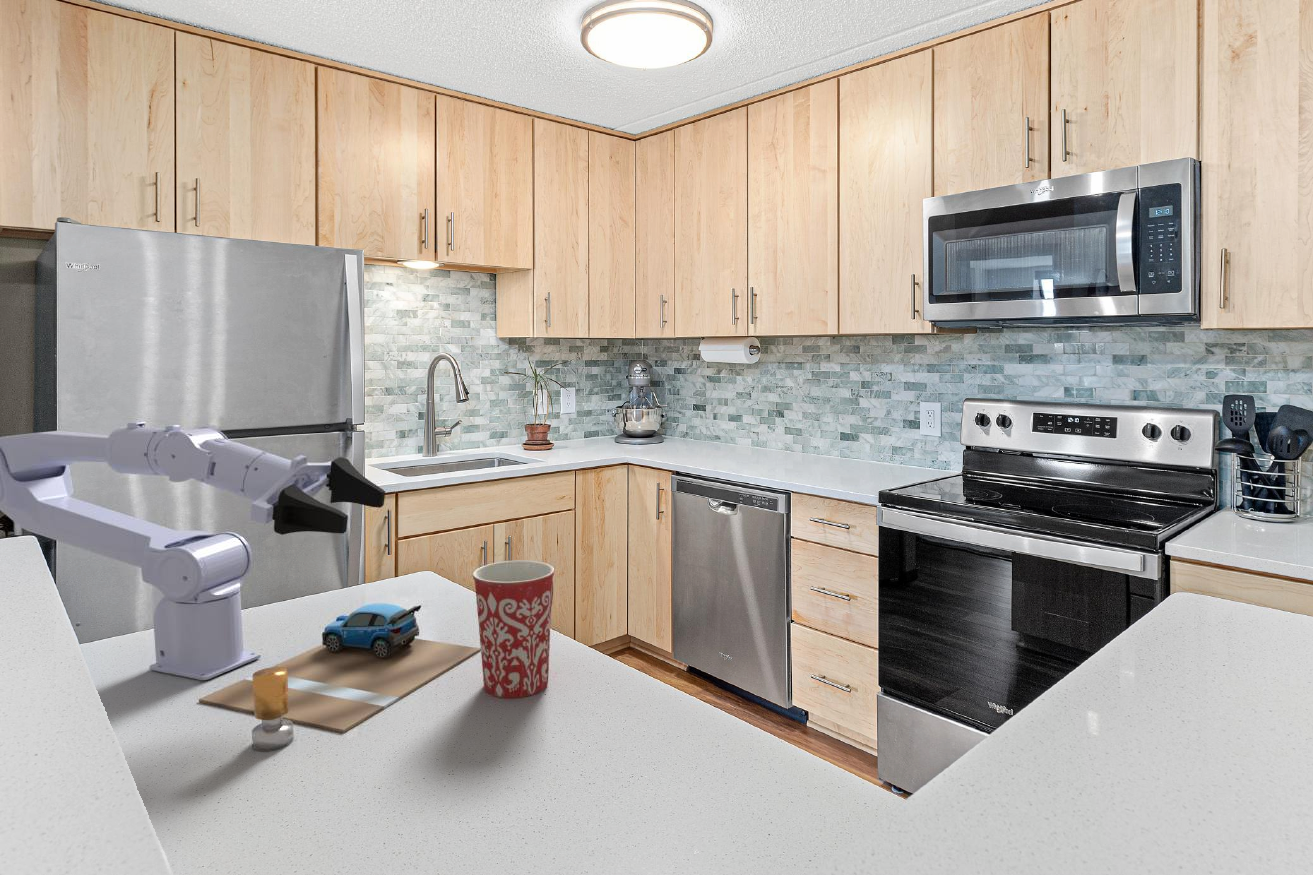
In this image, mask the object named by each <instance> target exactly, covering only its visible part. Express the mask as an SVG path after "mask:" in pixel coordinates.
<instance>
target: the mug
mask: <svg viewBox="0 0 1313 875" xmlns="http://www.w3.org/2000/svg"><path fill="white" fill-rule="evenodd" d="M555 572H556V569H555V568H554V566H553V565H552V564H549V563H546V562H542V561H534V560H506V561H505V560H504V561H497V562H492V563H488V564H485V565H483V566H481V567H478V568H477V569H475V570H474V571H473V573H472V578H473V582H474V587H475V588H474V589H475V597H476V602H475V603H476V611H477V612H476V613H477V622H478V631H479V632H478V633H479V644H480V645H479V646H480V648H481V651H480V654H481V655H480V656H481V667H482V668H481V669H482V679H483V680H482V681H483V686H484V690H485V692H487V693H488V694H489V695H491V696H493V697H498V698H501V699H502V698H504V699H517V698H518V699H520V698H526V697H529V696H533V695H535V694H538V693H540V692H542V691H543V690H545V688H546V687H547V685H548V683H549V674H550V673H549V671H550V670H549V669H550V668H549V667H550V666H549V665H550V648H551V646H550V645H551V644H550V641H551V624H552V623H551V621H552V618H551V617H552V608H553V607H552V606H553V599H554V598H553V597H554V583H553V582H554V581H553V580H554V578H553V577H554V575H555Z"/></svg>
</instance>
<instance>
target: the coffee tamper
mask: <svg viewBox="0 0 1313 875" xmlns="http://www.w3.org/2000/svg"><path fill="white" fill-rule="evenodd" d="M251 676H252V677H253V695H254V718H255V719H256V720H261V723H259V724H257V725H255V726H254V727H253V728H252V730H251V739H252V740H251V741H252V749H254V750H255V751H258V752H266V753H267V752H274V751H278V750H281V749H284V748H286V747H288V746H289V745H291V744H292V743H293V742H294V738H295V737H294V722H292V721H290V720H286V719H283V718H282V716H283V715H285V714H287V713H288V711H289V700H288V680H287V669H286V668H283V667H273V666H270V667H267V668H262V669H260V670H257V671H255V672H254V673H253V674H252V675H251Z"/></svg>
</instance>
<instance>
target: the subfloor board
mask: <svg viewBox="0 0 1313 875" xmlns="http://www.w3.org/2000/svg"><path fill="white" fill-rule="evenodd" d="M336 646H337V645H336ZM392 652H393V653H392V655H390V656H389V657H388V658H386V659H380V658H378V657H377V656H376V655H375V654H374V652H373V650H371V651H370V650H362V649H354V648H345V647H344V649H342V650H341V651H339V652H338V653H333V652H331V651H329V650H328V648H327V647H326V645H323V644H320V645H318V646H316V647H314V648H311V649H310V650H307V651H305V652H302V653H300V654H297V655H296V656H294V657H291V658H289V659H287V660H285V661H282V662H280V663H278V664H277V663H276V665H275V664H274V665H273V666H272V667H283V668H286V669H287V680H288V700H289V711H288V713H287V714H285V715H283V716H282V718H283V719H286V720H290V721H292V722H293V723H297V724H299V725H300V724H301V725H305V726H310V727H314V728H319V729H324V730H329V731H333V732H339V733H343V734H344V733H346V732H348V731H350V730H351V729H353V728H354V727H356V726H358V725H361V723H363V722H364V721H366V720H368V719H370V718H371V717H373V716H374V715H376V714H378V713H379V712H382V711H383V710H385V709H386V708H388V707H390V706H391V705H393V704H394V703H396V702H398V701H399V700H401V699H403V698H405V697H406V696H407V695H409V694H411V693H413V692H414V691H416V690H418V689H419V688H421V687H422V686H425V685H426V684H427V683H430V682H431V681H433V680H435V679H436V678H438V677H440V676H441V675H443V674H445V673H446V672H448V671H450V670H451V669H453V668H454V667H456V666H458V665H459V664H461V663H462V662H465V661H466V660H468V659H469V658H471V657H472V656H474V655H476V654H478V653H480V652H481V647H474V646H473V647H472V646H468V645H460V644H453V643H448V642H441V641H433V640H428V639H421V638H416V637H415V639H414V641H413V642H412V643H410V644H409V645H406V646H404V645H400V646H398V647H396V648H394V649H393V651H392ZM198 702H199V703H203V704H208V705H211V706H216V707H221V708H227V709H232V710H235V711H240V712H245V713H250V714H254V695H253V677H252V675H251V676H248V677H246V678H243V679H242V680H239V681H237V682H234V683H233V684H231V685H228V686H225V687H223V688H221V689H219V690H216V691H214V692H211V693H210V694H207V695H205V696H203V697H200V698H199V699H198ZM254 715H255V714H254Z"/></svg>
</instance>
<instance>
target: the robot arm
mask: <svg viewBox="0 0 1313 875" xmlns="http://www.w3.org/2000/svg"><path fill="white" fill-rule="evenodd" d="M146 423H147V422H145V421H130V422H127V425H126V426H121V427H118V428H116V429H114V430H113V431H112V432H111V433H110V434H109V435H108V434H97V433H89V432H88V433H87V432H77V431H66V430H53V431H43V432H31V433H25V434H24V433H23V434H16V435H7V436H0V511H1V512H2V513H3V514H4V515H5V516H6V517H8V519H10V520H12V521H13V522H14V523H15V524H17V526H19V527H20V528H21V529H23V530H24V531H27V532H30V533H33V534H36V535H39V536H42V537H46V538H49V539H51V540H53V541H56V542H60V543H64V544H67V545H70V546H73V547H76V548H79V549H83V550H85V551H87V552H91V553H95V554H97V555H101V556H103V557H106V558H110V559H112V560H115V561H118V562H123V563H125V564H128V565H131V566H134V567H138V568H140V570H141V571H140V572H141V578H142V582H144V583H146V584H149V585H151V586H153V587H155V588H157V589H158V590H159V592H161V593H162V594H163V595H164V596H163V597H161V599H160V600H159V601H158V604H157V605H156V607H155V610H154V613H153V619H152V620H153V633H154V634H153V635H154V648H155V649H154V650H155V661H156V662H155V663H153V664H150V665H149V670H151V671H153V672H154V671H155V672H160V673H165V674H170V675H175V676H180V677H185V678H190V679H196V680H199V681H200V680H201V681H207V680H210V679H212V678H216V677H217V676H219V675H222V674H224V673H226V672H229V671H231V670H234V669H236V668H238V667H241V666H243V665H245V664H247V663H251V662H252V661H256V660H258V659H259V658H261V653H259V652H253V651H247V650H244V638H243V637H244V636H243V635H244V634H243V621H242V620H243V619H242V618H243V617H242V601H241V598H242V597H241V587H244V577H245V576H246V575H247V574H248V573H249V572H250V571H251V568H252V565H253V553H252V548H251V546H250V544H249V542H248V541H247V540H246V539H245V538H244V537H243V536H242V535H240V534H238V533H236V532H233V531H223V532H218V533H214V532H213V533H212V532H208V531H205V530H177V529H172V528H169V527H166V526H163V525H159V524H156V523H153V522H150V521H147V520H144V519H142V518H141V519H140V518H138V517H134V516H131V515H128V514H125V513H121V512H119V511H115V510H112V509H108V508H107V507H103V506H100V505H96V504H93V503H90V502H87V501H84V500H81V499H78V498H75V497H72V495H73V494H74V492H75V491H74V487H73V480H72V475H71V474H72V473H71V468H70V466H71V465H73V463H74V462H81V463H82V462H83V463H85V462H86V463H87V462H89V463H107V465H108V466H109V467H110V469H112V470H113V471H115V472H117V473H119V474H128V475H129V474H130V475H131V474H132V475H143V476H145V475H146V476H160V477H161V476H162V477H168V481H169V482H173V483H182V482H186V481H189V480H192V479H193V480H195V481H196V482H197V481H198V482H200V483H203V484H206V485H210V486H211V487H215V488H217V489H219V490H222V491H226V492H228V493H232V494H234V495H237V496H240V497H243V498H247V499H249V500H251V501H254V502H252V503H251V506H250V509H251V510H250V520H252V521H255V522H258V523H261V524H264V525H267V524H269V523H271V522H272V521H273V522H274V523H273V531H274V532H275V534H279V535H281V536H282V535H287V534H293V533H303V532H305V533H306V532H314V533H327V534H330V533H331V534H345V533H346V532H347V530H348V529H347V528H348V520H349V519H348V518H349V515H347V514H346V513H345V512H344V511H341V510H339V509H337V508H335V507H332V506H330V505H328V504H326V503H323V502H321V501H319V500H317V499H315V496H316V495H317V494H319V492H320V491H321V490H322V489H323V488H324V487H325V488H326V487H327V488H328V491H331V492H330V504H334V503H353V504H357V505H363V506H367V507H370V508H379V509H380V508H382V507H383V506H384V505H385V498H386V497H385V496H386V490H384V489H383V488H381V487H380V486H378V485H377V484H376V483H374V482H372V481H371V480H369V479H368V478H366V477H365V476H364V475H362V473H361V472H359V471H358V470H357V469H356V468H355V466H354V465H353V464H352V463H351V461H350V460H349V459H348V458H345V457H344V456H343V457H342V456H339V457H337V458H335V459H333V460H330V461H327V462H307V461H308V457H307V456H305V455H301V454H300V455H298V456H296V457H294V458H292V459H288V458H285V457H282V456H279V455H276V454H273V453H270V452H267V451H263V450H261V449H259V448H255V447H252V446H249V445H245V444H243V443H240V442H237V441H232V440H229V438H228V437H227V435H226V434H224V433H223V432H222V431H221V430H219V429H216V428H212V427H209V426H202V427H198V428H194V429H193V428H192V429H186V430H183V429H182V427H181V425H179V424H167V425H166V426H165V427H152V426H151V427H147V424H146Z"/></svg>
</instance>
